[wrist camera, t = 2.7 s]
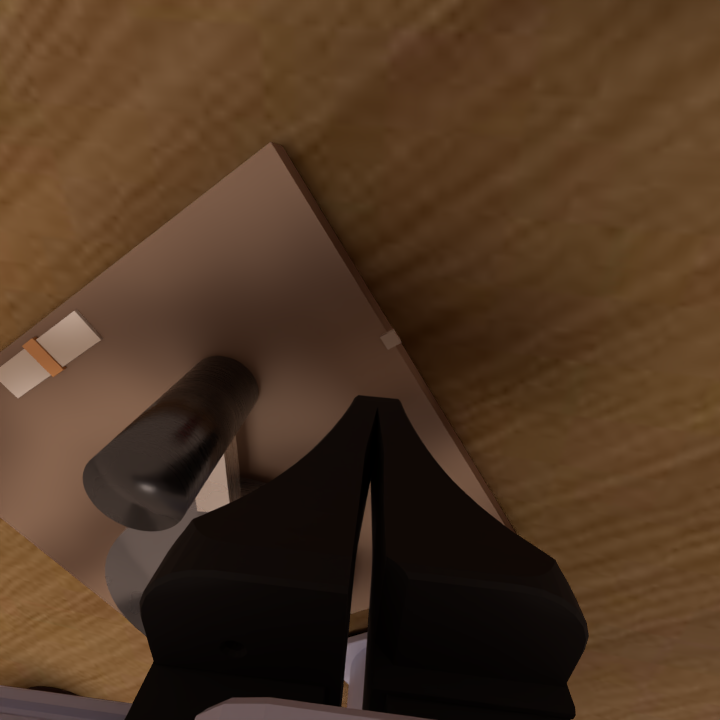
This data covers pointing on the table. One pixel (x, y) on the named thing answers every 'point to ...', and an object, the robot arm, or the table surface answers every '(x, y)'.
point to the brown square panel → (201, 340)
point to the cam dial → (170, 471)
